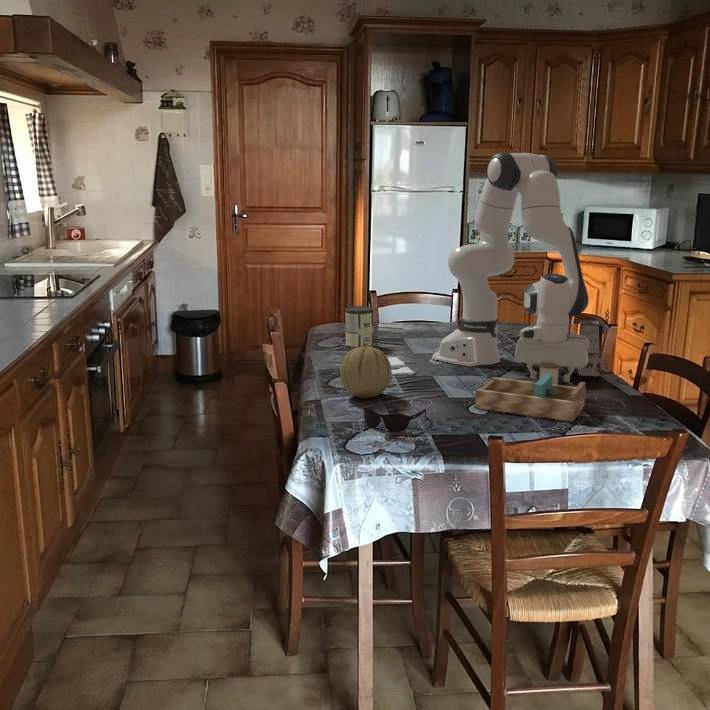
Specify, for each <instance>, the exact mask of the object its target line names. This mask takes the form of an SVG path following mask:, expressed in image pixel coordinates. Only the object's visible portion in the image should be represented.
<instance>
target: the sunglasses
mask: <svg viewBox="0 0 710 710" xmlns="http://www.w3.org/2000/svg"><path fill="white" fill-rule="evenodd" d="M380 406H389V407H391V409H392V410H394V412H395V411H399V412H400V409H398V407H396V406H395V405H394V404H393V403H390V402H382V403H381V402H380V403H376V404H372V405H369V406H367V407H364V408H363V418H364V424H366V426H367V427H369V428H372V429H374V428H375V429H376V428H377V427H378V426H379V425H380V424H381V421H383V424H384V427H385V428H386V430H388V432H392V433H400V432H404V431H405V430H406V429H408V428H409V424H410V421H412V420H414V419H416V418H418V417H420V416H421V415H423V414H424V418H426V417H427V408H425V409H423V410H422V411H421V410H420V411H419V412H417V413H414V414H412V415H408V414H406V413H405V414H404V413H398V412H396V413H393V412H392V413H386V414H384V413H383V414H381V413H378V412H377V411H375V410H373V409H375V408H378V407H380ZM381 418H382V420H381Z"/></svg>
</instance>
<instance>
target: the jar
mask: <svg viewBox="0 0 710 710" xmlns="http://www.w3.org/2000/svg"><path fill="white" fill-rule="evenodd" d="M538 365H539V376H538V381H539V380H540V379H541V378H542V377H543V376H544V375H545V374H552V375H553V381H552V384H553V385H559V383H558V382H559V369H560V367H561V366H557V365H556V364H553V363H543V362H540V364H538Z"/></svg>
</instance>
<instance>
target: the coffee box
mask: <svg viewBox="0 0 710 710" xmlns="http://www.w3.org/2000/svg"><path fill="white" fill-rule="evenodd" d="M603 333H604V325H603V322H602V321H601V320H599V319H598V320H594V319H589V320H582V319H581V320H579V333H578V335H584V336H585V337H587V338H588V339H589V341H590V345H589V349H588V350H587V351H588V364H587V365H586V366H585V367H584V368H576V369H577V373H578V375H579V376H580V375H581V376H582V377H585V376H586V377H597V376H598V377H600V373H601V361H602V348H603V347H602V346H603V335H604V334H603ZM584 339H586V338H584Z"/></svg>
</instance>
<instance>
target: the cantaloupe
mask: <svg viewBox="0 0 710 710" xmlns="http://www.w3.org/2000/svg"><path fill="white" fill-rule="evenodd" d="M363 346H365V347H358V348H354V349H350V351H348V352H347V353H346V354H345V356H344V357H343V358H342V361H341V364H340V366H339V368H340V370H339V377H340V381H341V384H342V386H343V387H344V389H345V390H346V391H347V392H349V393H350V394H351V395H352V396H354V397H356V398H360V399H364V398H365V399H370V398H375V397H378V396H379V395H381V394H383V393H384V391H386V389H387V388H388V386H389V385H390V383H391V380H392V377H393V376H392V370H391V365H390V362H389V360H388V358H387V355H386V354H385V353H384V352H383V351H382V350H380V349H379V348H376V347H369V346H368V345H367V344H365V343H363Z"/></svg>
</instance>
